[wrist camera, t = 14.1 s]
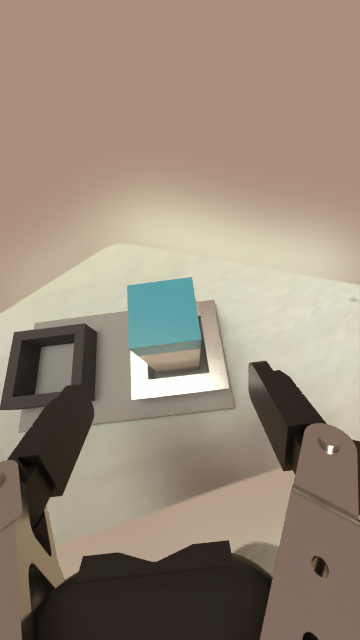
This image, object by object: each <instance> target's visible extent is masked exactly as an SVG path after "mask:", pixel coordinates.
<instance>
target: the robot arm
mask: <svg viewBox="0 0 360 640" xmlns="http://www.w3.org/2000/svg"><path fill="white" fill-rule="evenodd" d="M249 394H250V398H251V401H252V403H253V406H254V408H255V410H256V412H257V414H258V417H259V419H260V421H261V423H262V425H263V428H264V430H265V432H266V434H267V436H268V439H269V441H270V443H271V445H272V447H273V450H274V452H275V454H276V456H277V458H278V460H279V463H280V465H281V467H282V469H283V471H290V470H293V471H294V473H295V480H294V484H293V486H292V490H291V494H290V499H289V504H288V508H287V513H286V518H285V522H284V527H283V532H282V537H281V541H280V546H279V551H278V556H277V560H276V565H275V570H274V575H273V577H272V576H271V575H270V574H269V573H268V572H266V571H265V570H264V569H263V568H261V567H260V566H259V565H257V564H256V563H254V562H252V561H251V560H249V559H247V558H245V557H243V556H240V555H237V554H234V553H231V549H230V544H229V541H219V542H210V543H201V544H192V545H190V546H188V547H186V548H184V549H182V550H180V551H178V552H176V553H174V554H172V555H170V556H168V557H166V558H164V559H162V560H160V561H157V562H150V561H146V560H143V559H139V558H136V557H132V556H129V555H125V554H122V553H110V554H100V555H91V556H83V559H82V562H81V566H80V570H79V572H77V573H76V574H74V575H72V576H71V577H69V578H68V579H66V580H65V579H64V576H63V574H62V571H61V569H60V567H59V564H58V560H57V555H56V550H55V545H54V539H53V534H52V529H51V524H50V518H49V513H48V509H47V507H46V504H47V502H48V500H49V498H50V497H56V496H62V495H63V493H64V490H65V488H66V485H67V483H68V480H69V478H70V476H71V473H72V471H73V468H74V466H75V463H76V461H77V458H78V456H79V454H80V451H81V449H82V446H83V444H84V441H85V439H86V437H87V434H88V432H89V429H90V427H91V424H92V422H93V419H94V407H93V404H92V401H91V399H90V396H89V394H88V391H87V388H86V386H85V385H84V384H74V385H67V386H65V387H64V389H63V390H62V392H61V393H60V395H59V396H58V397H57V398H54V399H53V400H52V401H51V402H50V403H49V404H47V405H46V406H45V407H44V409H43V410H42V412H41V413H40V414H39V416H38V418H37V419H36V420H35V421H34V423H33V424H32V427H30V428H29V430H28V431H27V433H26V434H25V435H24V437H23V438H22V440H21V441H20V443H19V444H18V445H17V447H16V448H15V450H14V451H13V452H12V454H11V455H10V457H9V458H8V459H7V461H3V462H0V640H360V520H359V515H360V441H355V440H352V439H351V438H350V437H349V436H348V435H347V434H346V433H344V432H343V431H341V430H340V429H338V428H336V427H334V426H331V425H328V424H326V423H325V421H324V420H323V419H322V417H321V416H320V415H319V414H318V412H317V411H316V410H315V409H314V407H313V406H312V405H311V403H310V402H309V401H308V400H307V398H306V397H305V396H304V394H302V392H301V391H300V389H299V388H298V387H296V384H295V383H294V382H293V380H292V379H291V378H290V377H289V376H288V375H286V374H285V373H283V372H282V371H280V370H277V371H273V370H272V368H271V367H270V365H269V364H268V363H267V362H266V361H260V362H252V363H249Z"/></svg>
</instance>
